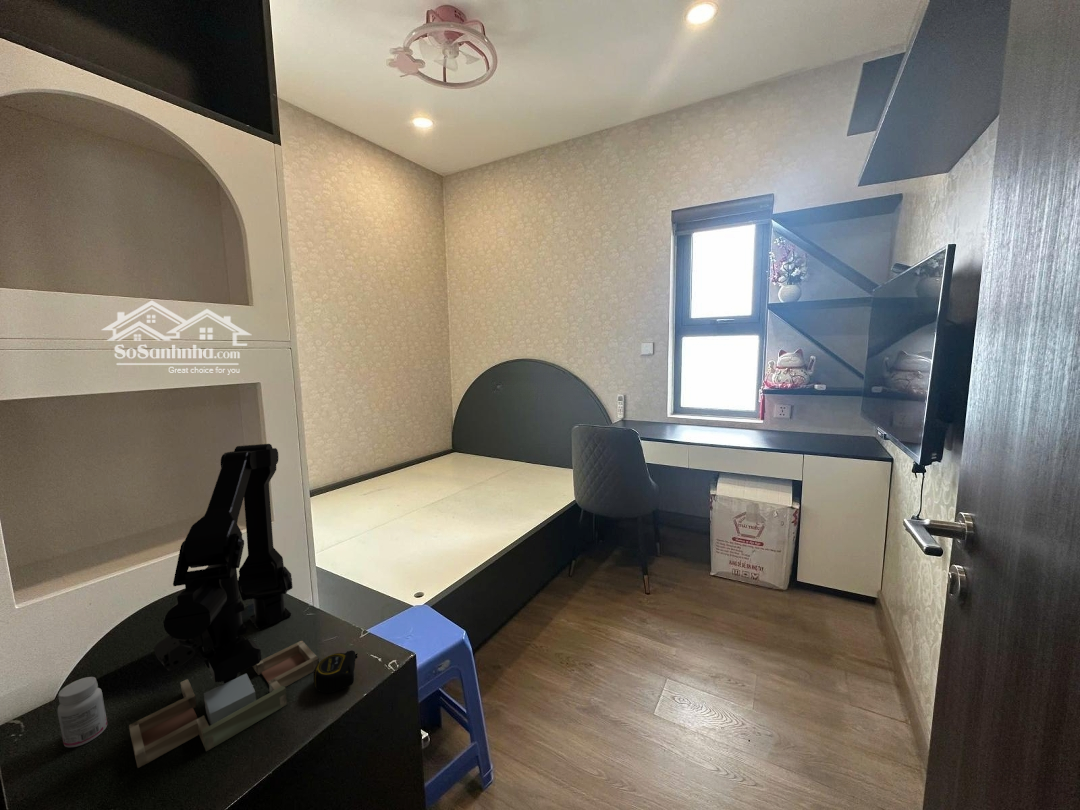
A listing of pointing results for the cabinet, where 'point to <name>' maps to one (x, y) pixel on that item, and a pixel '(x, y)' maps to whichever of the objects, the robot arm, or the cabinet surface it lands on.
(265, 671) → the box
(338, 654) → the tape measure
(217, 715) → the block
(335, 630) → the cabinet surface
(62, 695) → the pill bottle
